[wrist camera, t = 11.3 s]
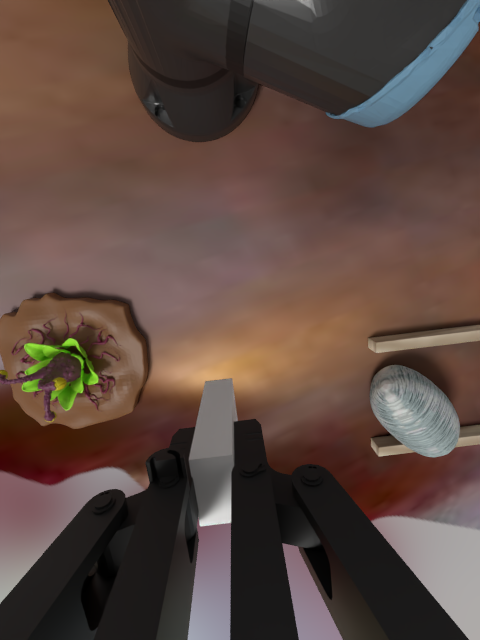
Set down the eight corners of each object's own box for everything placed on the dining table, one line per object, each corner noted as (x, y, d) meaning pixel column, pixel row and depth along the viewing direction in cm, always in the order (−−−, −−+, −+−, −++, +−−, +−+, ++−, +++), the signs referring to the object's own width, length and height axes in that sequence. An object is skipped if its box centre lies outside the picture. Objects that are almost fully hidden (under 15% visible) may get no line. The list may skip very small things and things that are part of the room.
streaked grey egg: (472, 419, 43) (487, 466, 35) (408, 438, 49) (408, 482, 40) (416, 342, 44) (417, 370, 36) (359, 368, 49) (348, 398, 41)
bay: (368, 337, 44) (376, 342, 41) (499, 322, 44) (515, 325, 41) (371, 446, 47) (378, 456, 45) (492, 431, 48) (506, 440, 45)
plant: (159, 413, 46) (137, 461, 35) (32, 427, 46) (-31, 481, 35) (136, 283, 42) (102, 291, 31) (-4, 298, 42) (-88, 312, 31)
